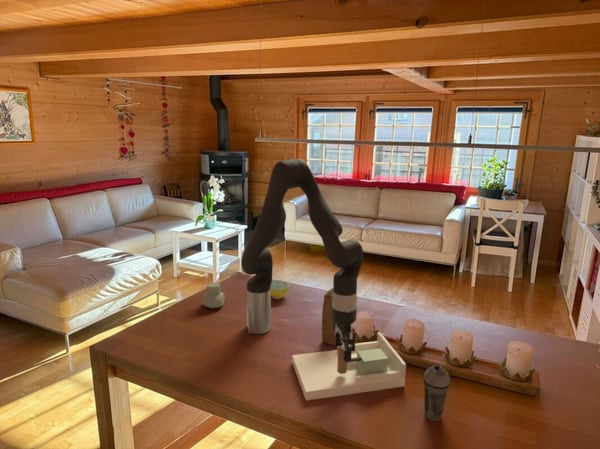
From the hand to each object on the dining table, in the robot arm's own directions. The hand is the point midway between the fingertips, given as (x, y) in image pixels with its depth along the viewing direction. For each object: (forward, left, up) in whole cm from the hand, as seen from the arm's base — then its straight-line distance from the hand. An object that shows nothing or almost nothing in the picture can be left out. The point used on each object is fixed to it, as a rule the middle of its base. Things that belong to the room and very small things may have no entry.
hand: (342, 352), depth 131 cm
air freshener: (-38, +66, -11) cm, 77 cm away
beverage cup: (+21, -19, -11) cm, 31 cm away
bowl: (-9, +69, -11) cm, 70 cm away
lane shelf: (+3, +5, -11) cm, 12 cm away
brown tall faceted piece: (+6, +27, -11) cm, 30 cm away
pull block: (+6, 0, -8) cm, 10 cm away
